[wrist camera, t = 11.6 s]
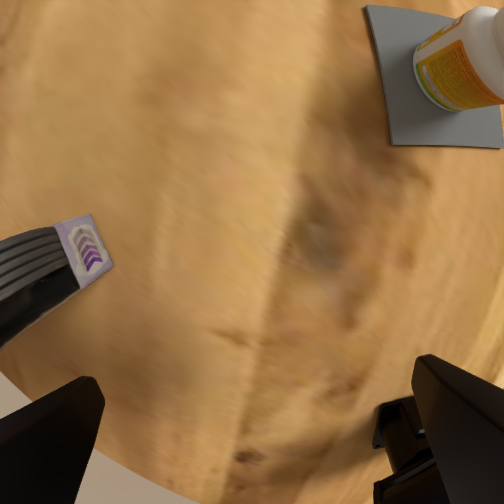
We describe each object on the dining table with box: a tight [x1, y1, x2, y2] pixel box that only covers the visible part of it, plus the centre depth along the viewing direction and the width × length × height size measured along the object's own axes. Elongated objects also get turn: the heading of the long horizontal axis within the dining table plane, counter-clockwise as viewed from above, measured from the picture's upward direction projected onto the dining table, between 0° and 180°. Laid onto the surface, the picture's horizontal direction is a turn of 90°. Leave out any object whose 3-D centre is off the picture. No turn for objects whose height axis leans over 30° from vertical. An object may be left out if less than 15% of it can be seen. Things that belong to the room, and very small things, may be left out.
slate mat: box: [365, 5, 504, 148], centre depth 15 cm, size 10×10×1 cm
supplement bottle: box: [413, 6, 504, 112], centre depth 11 cm, size 5×5×10 cm
